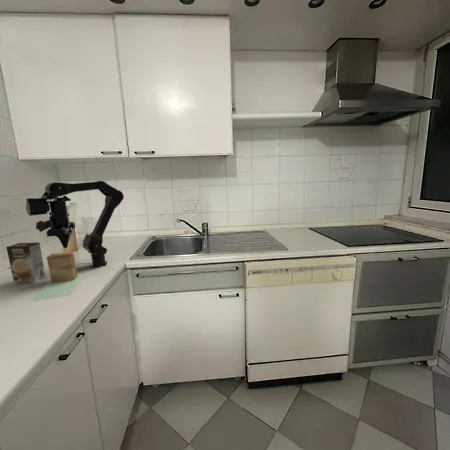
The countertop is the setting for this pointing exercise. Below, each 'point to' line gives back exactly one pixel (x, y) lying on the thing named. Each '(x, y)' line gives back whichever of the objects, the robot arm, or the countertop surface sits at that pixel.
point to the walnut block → (62, 267)
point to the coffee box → (26, 262)
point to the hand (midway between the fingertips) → (65, 247)
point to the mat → (57, 289)
